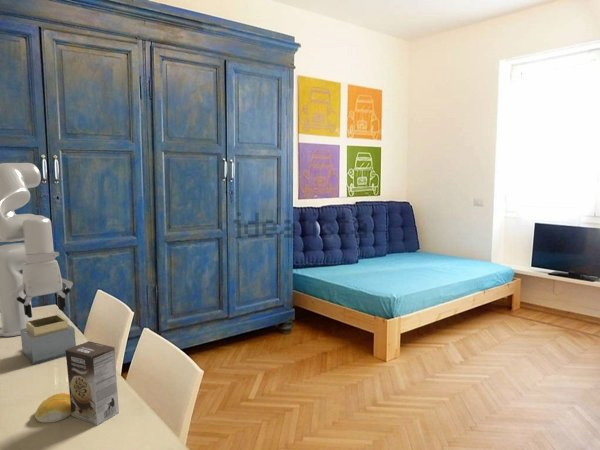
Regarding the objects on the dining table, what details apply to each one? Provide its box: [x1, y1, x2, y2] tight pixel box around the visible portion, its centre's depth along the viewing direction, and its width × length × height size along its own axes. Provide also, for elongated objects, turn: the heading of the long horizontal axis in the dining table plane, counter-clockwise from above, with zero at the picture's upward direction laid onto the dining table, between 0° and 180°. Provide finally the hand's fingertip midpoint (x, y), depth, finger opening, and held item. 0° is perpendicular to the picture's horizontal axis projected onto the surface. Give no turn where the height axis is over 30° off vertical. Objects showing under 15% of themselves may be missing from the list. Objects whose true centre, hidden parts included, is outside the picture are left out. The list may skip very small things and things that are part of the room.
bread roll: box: [34, 392, 72, 424], centre depth 105 cm, size 8×9×4 cm
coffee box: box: [65, 340, 120, 426], centre depth 103 cm, size 9×6×16 cm
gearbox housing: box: [20, 314, 77, 366], centre depth 142 cm, size 16×12×10 cm
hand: (45, 313), depth 139 cm, fingers open, 8 cm apart
